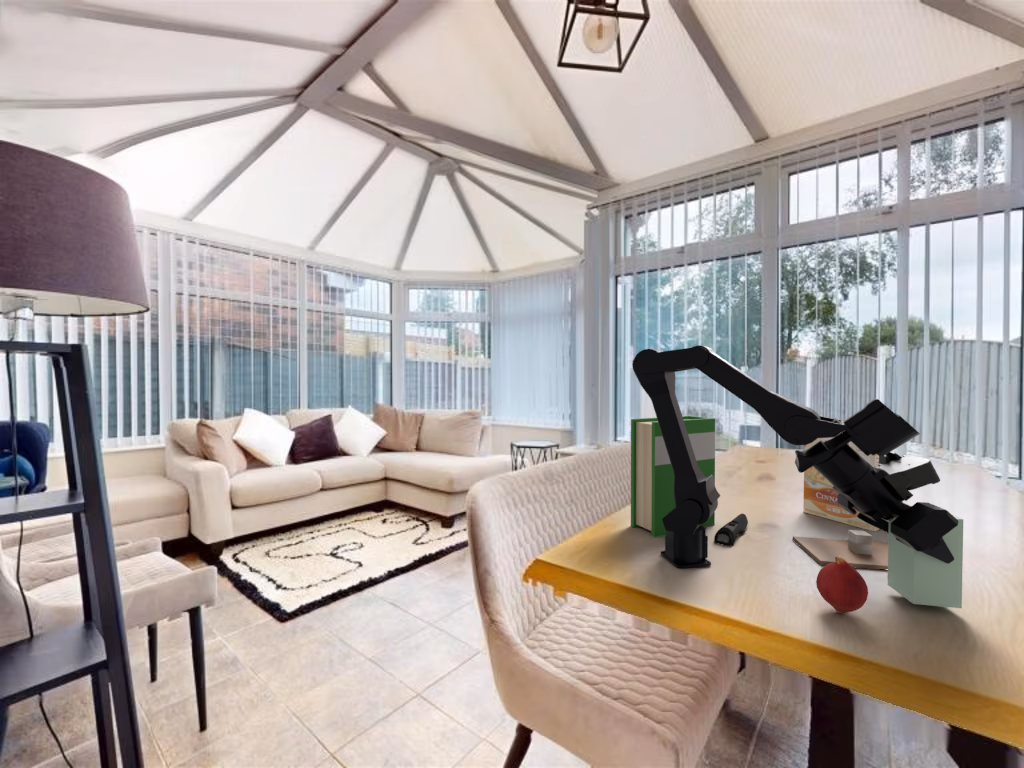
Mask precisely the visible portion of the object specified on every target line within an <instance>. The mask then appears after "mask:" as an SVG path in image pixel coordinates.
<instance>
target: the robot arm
mask: <svg viewBox="0 0 1024 768" xmlns="http://www.w3.org/2000/svg"><path fill="white" fill-rule="evenodd" d="M631 364H632V365H631V366H632V370H633V373H634V375H635V376H636V378H637V380H638V383H639V385H640V387H642V389H643V390H644V392H645V393H646V394H647V396H648V397H649V399H650V401H651V403H652V407H653V410H654V413H655V416H656V417H655V418H657V420H658V423H659V426H660V430H661V433H662V436H663V440H664V443H665V446H666V449H667V453H668V456H669V459H670V462H671V466H672V469H673V472H674V500H675V508H674V509H673V510H672V511H670V512H669V513H668V514H667V515H666V516H665V517H663V518H662V521H663V524H664V527H665V535H664V550H662V551H660V555H661V556H662V557H664V558H665V559H666V560H667V561H669V562H670V563H671V564H672V565H673V566H675V567H676V568H678V569H685V568H687V569H689V568H697V567H698V568H700V567H710V566H712V562H711V561H710V560H709V559H707V558H708V555H709V551H708V549H709V548H708V546H709V545H708V543H709V542H708V541H709V537H708V535H707V534H706V533H707V532H706V531H707V528H706V527H703V526H701V524H703V523H705V522H706V521H707V520H708V519H709V518H710V517H711V515H712V514H713V513H714V512H715V513H716V510H717V509H718V505H719V501H718V499H720V497H721V494H720V493H719V491H718V490H717V488H716V481H715V482H714V477H713V475H709V476H706V477H705V475H704V474H703V473H702V471H701V470H700V469H699V467H698V464H697V461H696V458H695V455H694V452H693V448H692V445H691V442H690V439H689V436H688V433H687V429H686V426H685V423H684V420H683V417H682V416H683V414H682V411H681V409H680V405H679V401H678V399H677V395H676V372H683V371H688V370H695V369H696V370H699V371H700V372H701V373H703V374H704V375H705V376H706V377H708V378H710V379H711V380H713V381H714V382H715V383H716V384H718V385H720V386H721V387H722V388H724V389H726V390H727V391H728V392H729V393H731V394H732V395H733V396H735V397H736V398H738V399H739V400H741V401H742V402H743V403H745V404H746V405H748V406H750V407H751V408H752V409H753V410H755V411H756V412H757V414H759V416H760V417H762V419H763V420H764V422H766V424H767V425H768V426H769V427H770V428H771V429H772V430H773V431H774V432H775V433H776V434H777V435H778V436H779V437H780V438H781V439H782V440H784V441H785V442H787V444H790V445H794V446H804V445H807V444H810V443H812V442H814V441H815V440H816V439H817V438H831V437H834V438H832V439H830V440H828V441H825V442H823V441H819V442H818V443H816V444H815V445H813V446H812V447H810V448H809V449H807V450H798V449H796V450H795V451H794V453H795V460H794V464H795V466H796V470H797V472H798V473H804V471H806V470H807V469H809V468H810V467H812V466H813V467H814V468H815V469H816V470H817V471H819V472H820V473H821V474H822V475H823V476H824V477H825V478H826V479H827V480H828V481H829V482H830V483H831V484H832V485H833V487H832V488H833V489H834V490H835V491H836V492H838V493H839V494H838V495H837V503H838V504H839V505H841V506H842V507H843V508H844V509H845V510H846V511H848V512H849V513H851V514H853V515H855V514H856V513H857V512H856V510H857V511H858V512H859V514H858V515H857V517H858V518H859V519H861V520H863V521H864V522H866V523H868V524H870V525H872V526H874V527H877V528H879V529H880V530H881V531H883V532H884V533H887V534H888V530H889V522H890V521H892V520H893V519H894V517H895V518H896V519H895V520H894V521H892V522H891V526H890V532H891V533H892V534H893V535H894V536H895V537H896V540H898V541H899V542H901V543H903V544H905V545H906V546H908V547H910V548H912V549H914V550H916V551H920V552H923V553H925V554H927V555H929V556H932V557H934V558H936V559H938V560H941V561H943V562H945V563H947V564H949V563H951V562H952V561H953V560H954V557H953V555H952V553H951V552H950V550H949V548H948V546H947V545H946V543H945V541H944V540H943V538H942V537H943V536H944V535H946V534H947V533H948V532H950V531H951V530H952V529H953V528H955V527H956V526H957V525H958V520H957V519H956V518H955V517H954V516H955V515H954V516H953V514H952V513H950V512H949V511H948V509H945V508H942V507H939V506H937V505H934V504H933V503H929V502H923V501H922V502H920V501H917V502H915V503H914V504H913V505H909V504H907V503H904V501H905V502H907V501H908V500H910V499H911V498H913V496H914V494H912V492H911V491H914V490H917V489H920V488H922V487H925V486H927V485H931V484H932V485H935V484H939V483H940V481H941V478H940V476H939V474H938V473H937V471H936V468H935V467H934V465H933V463H932V461H931V460H930V459H929V458H927V457H921V456H918V455H913V454H912V455H911V454H910V455H908V454H903V455H902V456H901V455H899V454H898V453H897V452H893V451H894V450H896V449H898V448H900V447H901V446H903V445H904V444H905V443H907V442H909V441H911V440H912V439H914V438H916V437H918V436H919V435H921V434H920V432H919V431H918V430H917V429H915V428H914V427H913V426H912V425H911V424H910V423H908V422H907V421H906V420H905V419H904V418H903V417H902V416H901V415H899V414H898V413H896V412H894V411H893V410H891V409H890V408H889V407H888V406H887V405H885V404H884V403H883V401H881V400H880V399H878V398H873V399H872V400H871V401H869V402H868V403H866V404H865V406H864V407H862V408H861V409H860V410H858V411H857V412H855V413H854V414H852V415H850V417H848V418H846V419H845V420H842V419H838V418H837V417H834V418H832V417H827V416H823V415H819V413H817V411H815V410H814V409H813V408H811V407H809V406H806V405H804V404H803V403H800V402H798V401H795V400H794V399H791V398H788V397H786V396H783V395H781V394H779V393H777V392H774V391H772V390H771V389H770V388H768V387H766V386H764V385H763V384H761V383H760V382H759V381H757V380H756V379H754V378H752V377H751V376H749V375H748V374H746V373H745V372H744V371H742V370H741V369H739V368H738V367H736V366H735V365H733V364H732V363H731V362H729V361H728V360H726V359H724V358H722V357H721V356H720V355H719V354H717V353H716V352H715V351H714V350H713V349H712V348H710V347H708V346H707V345H693V346H692V347H688V348H687V347H686V348H679V349H671V350H659V349H651V348H645V349H642V350H639V352H637V354H636V355H635V357H634V358H633V360H632V363H631ZM850 441H851V442H852V443H854V444H855V445H856V446H857V447H858V448H859V449H860V450H861V451H862V452H863V453H864V454H866V455H867V456H869V455H875V454H877V455H879V464H878V466H879V467H877V468H875V467H872V466H871V465H870V464H869V463H868V462H867V461H866V460H865V459H863V458H862V457H861V456H860V455H859V454H858V453H857V452H856V451H855V450H854V449H853V448H851V447H850V446H849V445H848V444H847V443H849V442H850ZM853 508H854V509H853ZM855 509H856V510H855Z"/></svg>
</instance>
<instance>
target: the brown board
mask: <svg viewBox="0 0 1024 768" xmlns="http://www.w3.org/2000/svg"><path fill="white" fill-rule="evenodd" d="M847 532H848V533H847V536H848V537H847V539H841V538H840V539H839V538H837V539H836V538H822V537H809V536H808V537H807V536H794V535H793V536H792V541H793V540H794V541H795V542H796V543H797V544H798V546H799V545H800V546H801V547H802V548H803V549H804V550H805V551H806V552H807V553H806V552H805V551H804V550H803V549H802V548H801V547H800V546H799V547H800V548H801V549H802V550H803V551H804V552H805V553H806V554H808V555H809V556H810V557H811V558H812V557H813V558H814V559H815V560H816V561H815V560H814V559H813V558H812V559H813V560H814V561H815V562H817V564H819V565H820V566H824V565H827V564H829V563H832V562H835V561H836V559H835V557H838V556H840V557H843V558H844V559H845V560H846V562H847V563H848V564H850V565H851V566H852V567H856V568H855V569H862V568H867V569H866V570H875V569H888V542H886V541H885V542H883V541H873V535H872V534H870V533H869V532H867V531H866V530H856V529H855V530H854V529H848V531H847ZM794 541H793V542H794ZM795 542H794V543H795ZM796 543H795V544H796Z"/></svg>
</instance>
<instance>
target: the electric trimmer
mask: <svg viewBox="0 0 1024 768" xmlns="http://www.w3.org/2000/svg"><path fill="white" fill-rule="evenodd" d="M748 525H749V520H748V517H747V515H746V514H744V513H740V514H738V515H736V517H734V518H733V519H732V520H730V521H729V522H727V523H726V524H724V525H723V526H721V527H720V528H719V529H718V530H717V531H716V533H715V534H714V541H713V542H714V543H716V544H717V543H719V544H718V545H721V544H723V545H722V546H726V545H727V547H731V545H733V546H734V545H735V542H736V538H737V537H738V535H743V534H744V533H745V532H746V530H747V527H748Z"/></svg>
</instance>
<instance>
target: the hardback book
mask: <svg viewBox="0 0 1024 768" xmlns="http://www.w3.org/2000/svg"><path fill="white" fill-rule="evenodd" d="M682 417H683V420H684V423H685V426H686V429H687V433H688V436H689V439H690V442H691V445H692V448H693V452H694V455H695V458H696V461H697V464H698V467H699V469H700V470H701V471H702V473H703V474H704V475H705V477H706V476H709V475H713V477H714V482H715V483H716V418H715V417H704V416H696V415H682ZM674 508H675V500H674V472H673V469H672V466H671V462H670V459H669V456H668V453H667V449H666V446H665V443H664V440H663V436H662V433H661V430H660V426H659V423H658V420H657V417H646V418H645V417H644V418H631V419H630V527H631V528H639V527H641V528H643V529H646V530H648V531H650V532H651V535H650V536H651V537H653V538H659V537H662V535H663V536H665V527H664V524H663V521H662V518H663V517H665V516H666V515H667V514H668V513H669V512H670V511H672V510H673V509H674ZM715 513H716V511H715V512H714V513H713V514H712V515H711V517H710V518H709V519H708V520H707V521H706V522H705V523H703V524H701V526H703V527H705V528H706V527H711V526H715V523H716V522H715V521H716V520H715V519H716V517H715V515H716V514H715ZM658 536H659V537H658Z"/></svg>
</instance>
